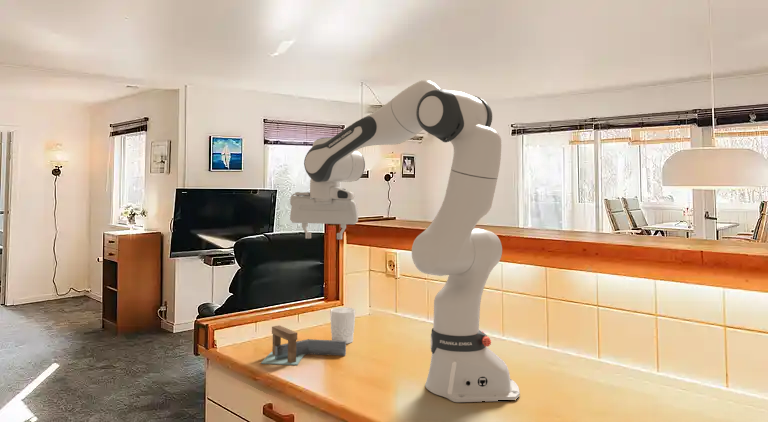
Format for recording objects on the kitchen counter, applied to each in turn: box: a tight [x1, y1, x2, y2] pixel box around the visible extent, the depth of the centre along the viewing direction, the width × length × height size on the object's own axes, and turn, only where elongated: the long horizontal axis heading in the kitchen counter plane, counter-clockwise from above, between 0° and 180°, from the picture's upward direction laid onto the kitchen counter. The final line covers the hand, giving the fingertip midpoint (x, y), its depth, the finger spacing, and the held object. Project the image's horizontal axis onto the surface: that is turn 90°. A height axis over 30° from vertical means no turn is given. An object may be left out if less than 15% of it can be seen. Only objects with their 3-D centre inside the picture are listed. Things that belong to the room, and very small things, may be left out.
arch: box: [271, 325, 298, 363], centre depth 148 cm, size 2×10×8 cm, turn 41°
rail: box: [275, 338, 347, 360], centre depth 150 cm, size 19×9×4 cm, turn 86°
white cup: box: [330, 306, 356, 345], centre depth 166 cm, size 8×8×10 cm
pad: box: [260, 351, 306, 366], centre depth 148 cm, size 10×10×1 cm
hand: (323, 238), depth 158 cm, fingers open, 8 cm apart
